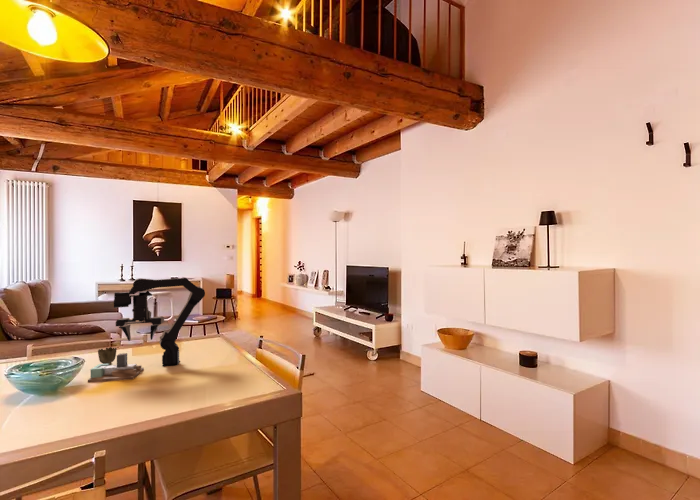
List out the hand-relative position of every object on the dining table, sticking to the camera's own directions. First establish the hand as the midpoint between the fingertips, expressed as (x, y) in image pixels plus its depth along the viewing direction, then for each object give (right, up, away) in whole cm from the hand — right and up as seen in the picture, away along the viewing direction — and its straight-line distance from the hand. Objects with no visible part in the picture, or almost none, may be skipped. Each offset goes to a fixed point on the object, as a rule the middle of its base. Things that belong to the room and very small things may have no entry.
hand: (140, 340), depth 170 cm
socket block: (-11, -13, -11) cm, 20 cm away
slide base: (-4, -13, -10) cm, 17 cm away
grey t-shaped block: (-4, -12, -10) cm, 16 cm away
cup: (-18, -13, +5) cm, 23 cm away
